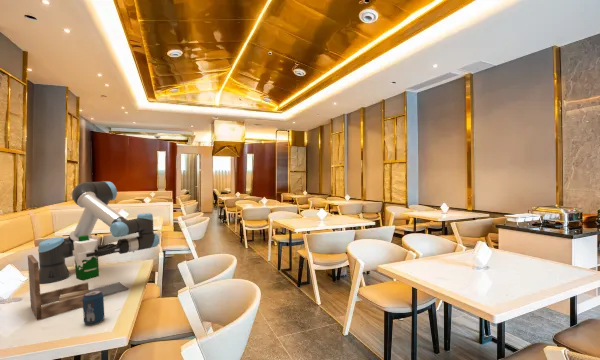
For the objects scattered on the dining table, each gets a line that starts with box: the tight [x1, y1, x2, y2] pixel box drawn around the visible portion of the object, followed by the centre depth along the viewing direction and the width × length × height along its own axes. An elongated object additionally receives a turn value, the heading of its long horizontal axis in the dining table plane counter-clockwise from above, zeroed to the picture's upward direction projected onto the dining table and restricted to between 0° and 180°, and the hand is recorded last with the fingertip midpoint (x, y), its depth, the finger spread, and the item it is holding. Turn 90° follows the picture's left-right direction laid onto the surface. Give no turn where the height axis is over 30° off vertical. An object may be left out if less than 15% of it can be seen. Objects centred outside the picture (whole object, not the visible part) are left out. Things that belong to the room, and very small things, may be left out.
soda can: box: [82, 290, 105, 326], centre depth 122 cm, size 7×7×12 cm
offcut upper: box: [58, 289, 90, 302], centre depth 142 cm, size 4×11×2 cm, turn 122°
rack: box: [27, 254, 89, 321], centre depth 140 cm, size 22×20×24 cm
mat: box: [88, 282, 129, 298], centre depth 156 cm, size 14×14×1 cm
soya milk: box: [73, 235, 100, 282], centre depth 146 cm, size 9×9×20 cm
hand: (75, 255), depth 143 cm, fingers closed on soya milk, 9 cm apart
